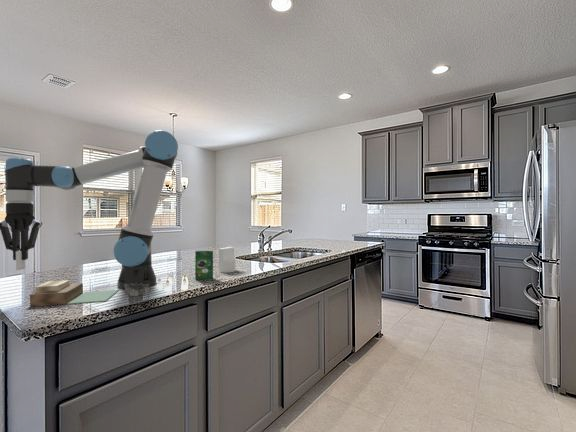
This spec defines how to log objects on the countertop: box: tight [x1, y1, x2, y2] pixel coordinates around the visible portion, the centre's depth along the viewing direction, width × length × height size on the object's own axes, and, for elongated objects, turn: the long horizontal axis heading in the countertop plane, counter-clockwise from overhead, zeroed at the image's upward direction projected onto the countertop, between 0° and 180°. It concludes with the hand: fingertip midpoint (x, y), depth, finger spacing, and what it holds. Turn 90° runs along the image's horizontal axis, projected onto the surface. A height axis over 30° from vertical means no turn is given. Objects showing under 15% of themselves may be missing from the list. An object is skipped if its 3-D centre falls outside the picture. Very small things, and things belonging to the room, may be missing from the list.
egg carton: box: [124, 283, 150, 297], centre depth 123 cm, size 11×8×4 cm
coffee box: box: [194, 250, 214, 281], centre depth 147 cm, size 8×3×13 cm, turn 108°
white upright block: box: [217, 246, 237, 274], centre depth 166 cm, size 9×9×12 cm
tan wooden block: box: [29, 283, 84, 307], centre depth 115 cm, size 11×14×4 cm
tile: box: [34, 279, 71, 293], centre depth 115 cm, size 7×9×2 cm
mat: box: [66, 289, 120, 305], centre depth 118 cm, size 12×16×1 cm
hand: (20, 269), depth 112 cm, fingers closed
